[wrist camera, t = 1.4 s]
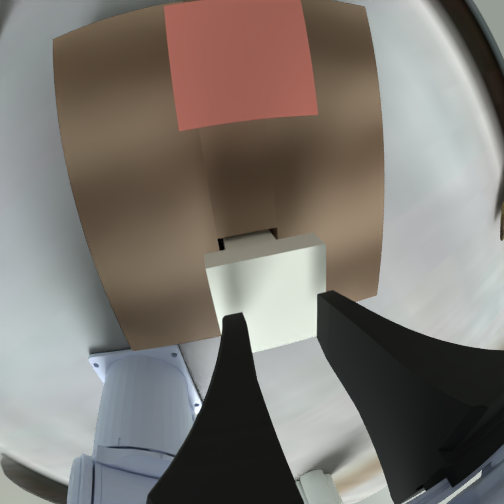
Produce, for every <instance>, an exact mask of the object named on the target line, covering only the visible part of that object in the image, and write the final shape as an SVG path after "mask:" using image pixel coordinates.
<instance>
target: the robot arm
mask: <svg viewBox="0 0 504 504" xmlns="http://www.w3.org/2000/svg"><path fill="white" fill-rule="evenodd" d="M317 339H318V341H319V343H320V345H321V348H322V350H323V352H324V354H325V357H326V359H327V360H328V362H329V364H330V365H331V367H332V369H333V370H334V372H335V373H336V375H337V377H338V378H339V380H340V381H341V383H342V385H343V386H344V388H345V389H346V391H347V393H348V394H349V396H350V397H351V399H352V401H353V402H354V404H355V406H356V408H357V410H358V411H359V413H360V416H361V418H362V420H363V422H364V424H365V426H366V429H367V431H368V433H369V436H370V438H371V440H372V443H373V445H374V448H375V450H376V453H377V455H378V458H379V461H380V463H381V466H382V469H383V472H384V475H385V478H386V481H387V484H388V488H389V491H390V495H391V498H392V500H393V502H394V504H401V503H403V502H405V501H407V500H409V499H410V498H412V497H414V496H416V495H417V494H419V493H421V492H422V491H424V490H426V492H424V493H423V494H421V495H419V496H418V497H416V498H414V499H413V500H411V501H409V502H407V503H406V504H438V503H439V502H441V501H442V500H444V499H445V498H447V497H448V496H449V495H451V494H452V493H454V492H455V491H456V490H458V489H459V488H460V487H461V486H463V485H464V484H465V483H467V482H468V481H469V480H470V479H471V478H473V477H474V476H475V475H476V474H477V473H479V472H480V471H481V470H482V475H481V477H480V478H479V479H478V480H476V481H475V482H474V483H472V484H471V485H470V486H468V487H467V488H466V489H464V490H463V491H462V492H460V493H459V494H458V495H456V496H455V497H454V498H453V499H451V500H450V501H449V502H448V503H447V504H504V350H488V349H480V348H473V347H467V346H462V345H458V344H454V343H450V342H446V341H442V340H438V339H435V338H432V337H429V336H426V335H423V334H421V333H418V332H415V331H413V330H410V329H408V328H405V327H403V326H401V325H399V324H396V323H394V322H392V321H390V320H388V319H386V318H384V317H382V316H380V315H378V314H376V313H374V312H372V311H370V310H368V309H367V308H365V307H363V306H361V305H359V304H358V303H356V302H354V301H352V300H350V299H349V298H347V297H345V296H343V295H341V294H340V293H338V292H336V291H334V290H331V291H327V292H323V293H319V294H317ZM172 353H176V354H172ZM88 360H89V362H90V364H91V365H92V367H93V369H94V370H95V372H96V373H97V375H98V376H99V378H100V379H101V381H102V382H103V384H104V386H103V391H102V396H101V402H100V407H99V413H98V419H97V425H96V432H95V439H94V446H93V454H92V456H88V455H85V454H82V455H81V456H80V457H78V458H75V459H74V461H73V464H72V468H71V474H70V480H69V487H68V497H67V504H304V501H303V498H302V496H301V494H300V492H299V489H298V487H297V485H296V482H295V480H294V478H293V475H292V473H291V470H290V468H289V466H288V463H287V461H286V458H285V456H284V453H283V451H282V448H281V445H280V443H279V440H278V438H277V435H276V432H275V430H274V427H273V424H272V421H271V419H270V416H269V413H268V410H267V407H266V404H265V402H264V399H263V396H262V393H261V390H260V387H259V384H258V381H257V376H256V371H255V366H254V360H253V355H252V349H251V344H250V338H249V333H248V327H247V323H246V320H245V317H244V315H243V312H239V313H235V314H230V315H225V316H224V317H223V318H222V335H221V342H220V347H219V352H218V357H217V361H216V365H215V369H214V372H213V375H212V379H211V382H210V385H209V388H208V391H207V394H206V396H205V399H204V401H203V403H202V401H201V399H200V397H199V395H198V392H197V390H196V388H195V386H194V383H193V381H192V379H191V376H190V374H189V372H188V369H187V367H186V364H185V362H184V359H183V357H182V354H181V352H180V349H179V347H178V345H177V344H176V345H170V346H164V347H158V348H151V349H145V350H138V351H132V349H129V350H122V351H114V352H106V353H97V354H91V355H89V358H88ZM96 363H97V364H96ZM197 413H198V415H197V417H196V419H195V414H197Z"/></svg>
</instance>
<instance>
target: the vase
mask: <svg viewBox="0 0 504 504" xmlns="http://www.w3.org/2000/svg"><path fill="white" fill-rule="evenodd" d="M296 485H297V487H298V489H299V492H300V494H301V496H302V498H303V501H304V504H343V502H342V500H341V497H340V495H339V493H338V491H337V488H336V486H335V484H334V481H333V479H332V477H331V475H330V474H324V473H323V471H322V470H313V471H310V472H307V473H305V474H303V475H301V476H300V481H296Z"/></svg>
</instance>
